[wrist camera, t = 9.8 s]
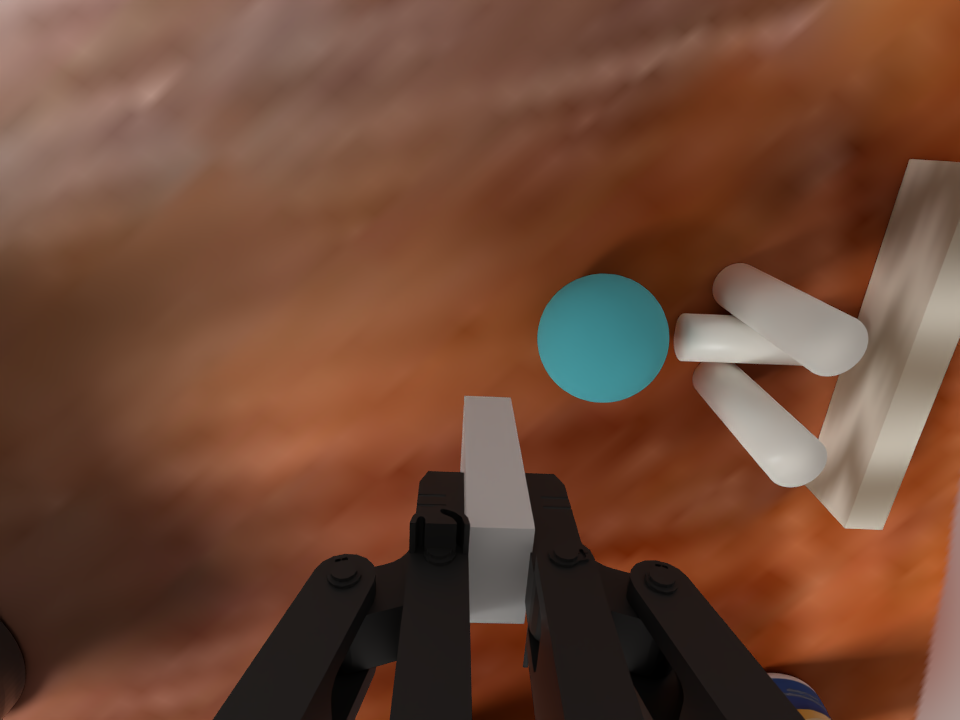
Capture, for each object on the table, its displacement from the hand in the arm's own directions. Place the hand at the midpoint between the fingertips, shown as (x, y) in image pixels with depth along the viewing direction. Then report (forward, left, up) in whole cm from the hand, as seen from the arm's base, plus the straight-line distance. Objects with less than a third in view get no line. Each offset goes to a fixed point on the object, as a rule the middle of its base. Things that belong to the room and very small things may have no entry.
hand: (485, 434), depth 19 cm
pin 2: (-2, -13, -12) cm, 17 cm away
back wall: (0, -21, -12) cm, 23 cm away
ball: (+1, -6, -9) cm, 10 cm away
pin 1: (+3, -13, -12) cm, 17 cm away
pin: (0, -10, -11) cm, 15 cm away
